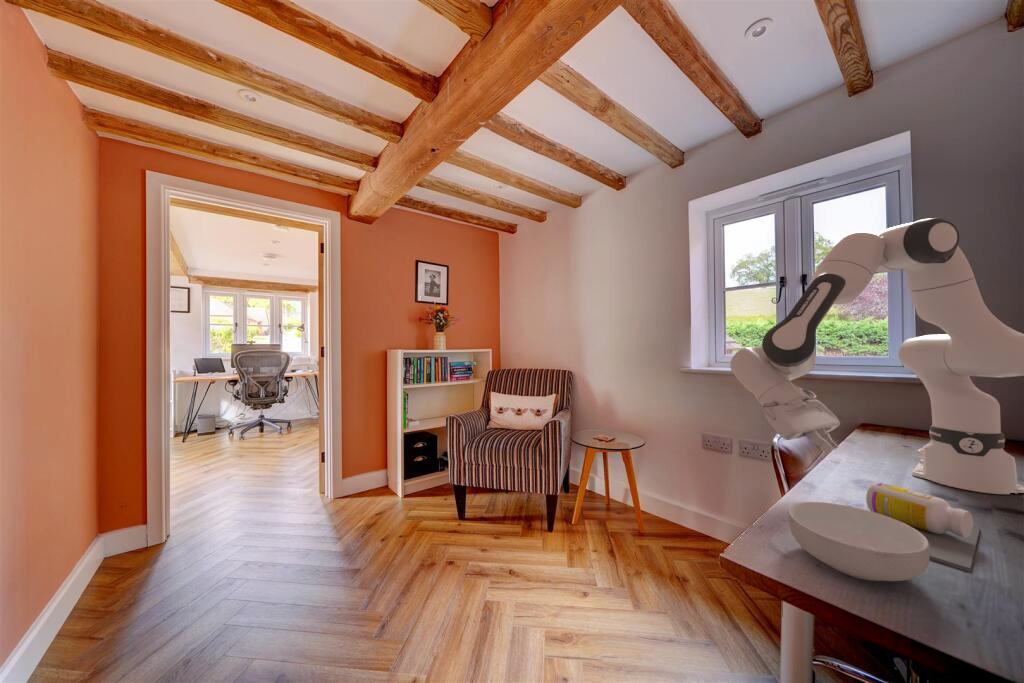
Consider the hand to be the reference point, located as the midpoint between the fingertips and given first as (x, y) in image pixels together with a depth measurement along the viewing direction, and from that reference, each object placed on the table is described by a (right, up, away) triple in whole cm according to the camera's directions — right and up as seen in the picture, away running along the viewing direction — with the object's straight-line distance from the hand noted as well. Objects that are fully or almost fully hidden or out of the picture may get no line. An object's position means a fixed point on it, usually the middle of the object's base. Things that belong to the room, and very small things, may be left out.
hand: (832, 449), depth 81 cm
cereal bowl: (-17, -12, -23) cm, 31 cm away
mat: (+6, -12, -14) cm, 19 cm away
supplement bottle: (+4, -8, -5) cm, 10 cm away
